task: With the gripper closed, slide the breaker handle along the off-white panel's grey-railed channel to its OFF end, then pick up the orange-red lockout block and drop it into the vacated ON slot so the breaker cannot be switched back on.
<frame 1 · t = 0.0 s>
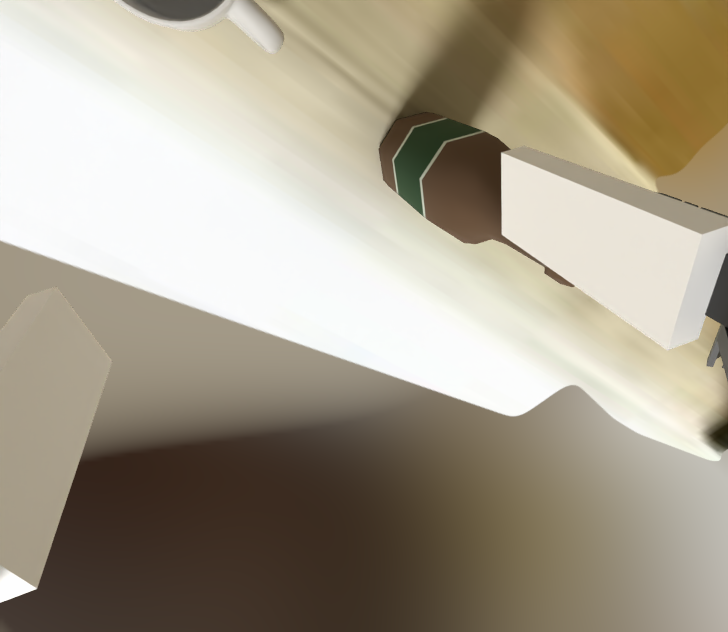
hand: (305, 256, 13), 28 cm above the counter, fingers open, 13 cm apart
beer bottle: (413, 153, 41), on the counter
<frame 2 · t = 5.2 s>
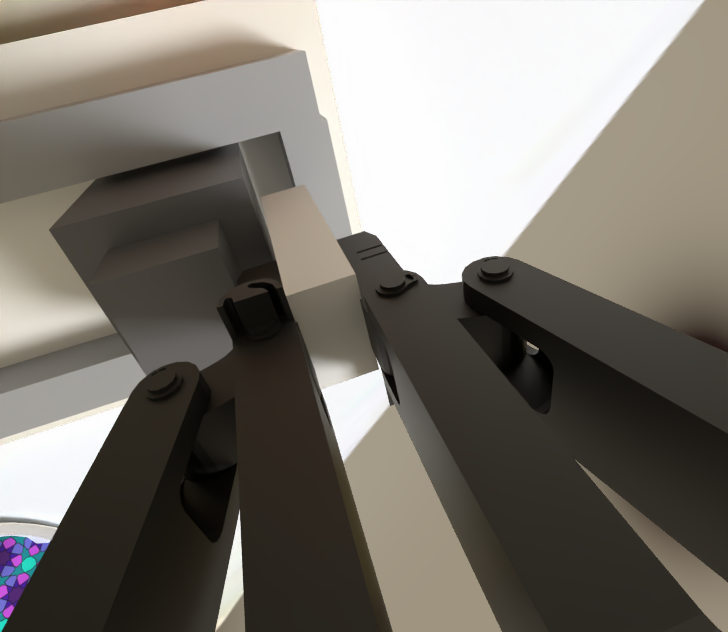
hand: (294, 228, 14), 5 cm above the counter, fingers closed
breaker handle: (197, 273, 14), point 5 cm above the counter, slide at 0.9 cm, touching gripper
pudding: (8, 568, 27), on the counter
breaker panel: (67, 257, 17), on the counter
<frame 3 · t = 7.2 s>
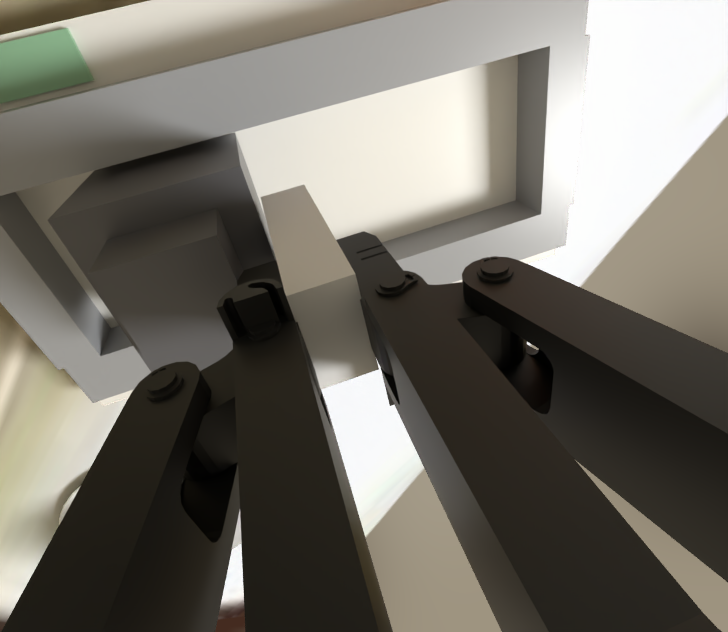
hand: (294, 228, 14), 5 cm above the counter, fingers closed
breaker handle: (196, 263, 14), point 5 cm above the counter, slide at 10.9 cm, touching gripper
pudding: (171, 505, 28), on the counter
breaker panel: (299, 182, 19), on the counter
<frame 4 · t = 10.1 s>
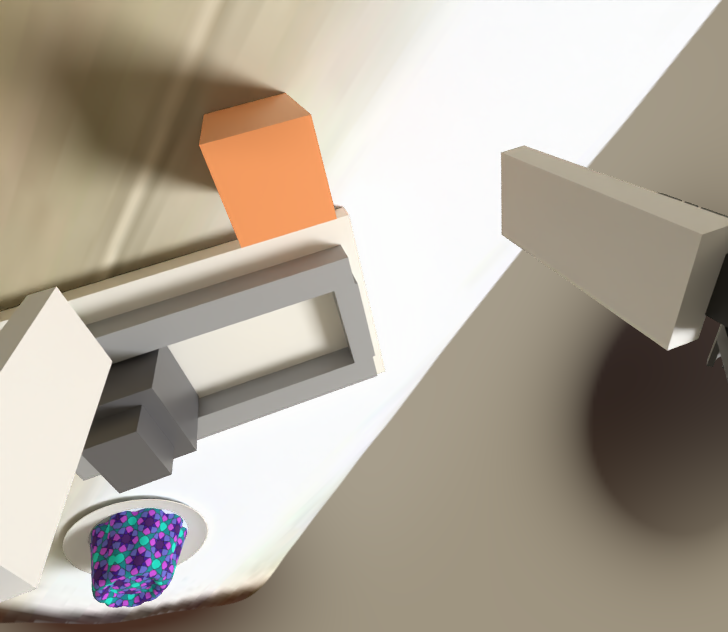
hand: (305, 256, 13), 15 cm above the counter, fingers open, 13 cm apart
breaker handle: (137, 417, 26), point 5 cm above the counter, slide at 10.9 cm
pudding: (140, 531, 40), on the counter
lockout block: (259, 146, 25), on the counter
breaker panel: (208, 345, 31), on the counter
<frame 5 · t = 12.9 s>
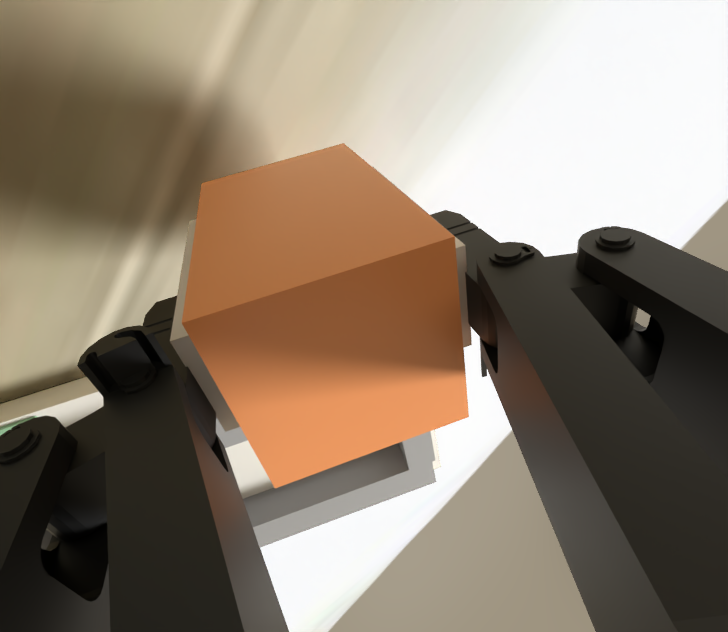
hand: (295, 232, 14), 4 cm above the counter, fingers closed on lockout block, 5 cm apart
breaker handle: (125, 563, 19), point 5 cm above the counter, slide at 10.9 cm
lockout block: (295, 229, 15), point 4 cm above the counter, touching gripper
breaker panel: (221, 444, 24), on the counter
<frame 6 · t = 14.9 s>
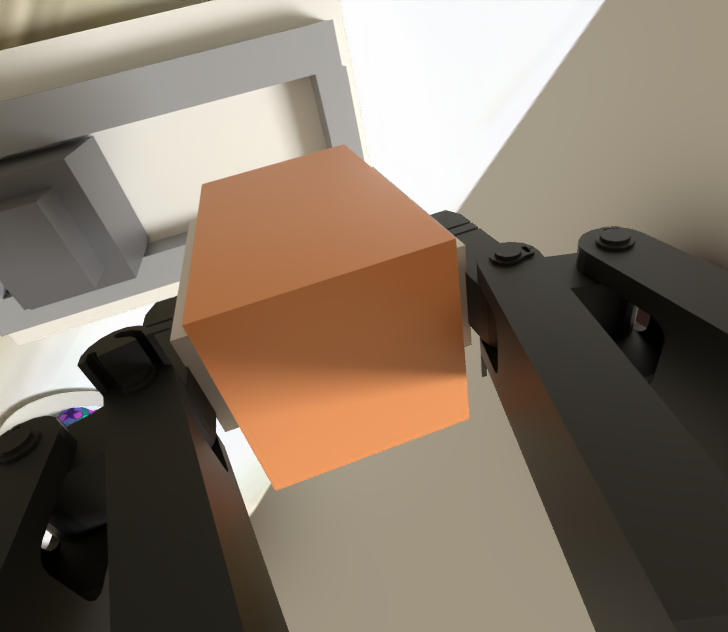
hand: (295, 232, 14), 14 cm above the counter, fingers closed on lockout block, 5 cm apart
breaker handle: (56, 227, 20), point 5 cm above the counter, slide at 10.9 cm
pudding: (94, 440, 34), on the counter
lockout block: (295, 230, 15), point 13 cm above the counter, touching gripper
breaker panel: (161, 173, 25), on the counter
when the fingers open (3 cm above the counter, at t = 16.9 s): lockout block drops 1 cm, resting on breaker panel.
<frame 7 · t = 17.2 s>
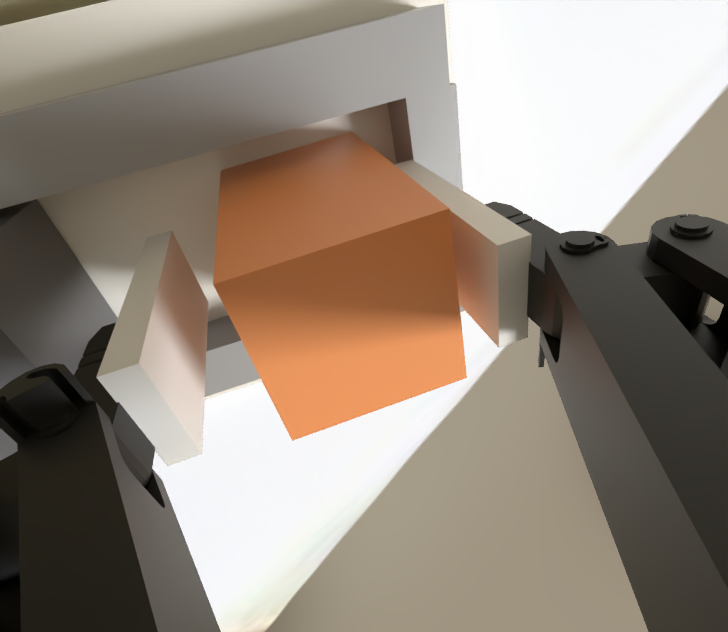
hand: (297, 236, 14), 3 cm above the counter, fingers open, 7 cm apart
lockout block: (306, 213, 16), point 1 cm above the counter, touching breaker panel
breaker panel: (151, 242, 16), on the counter
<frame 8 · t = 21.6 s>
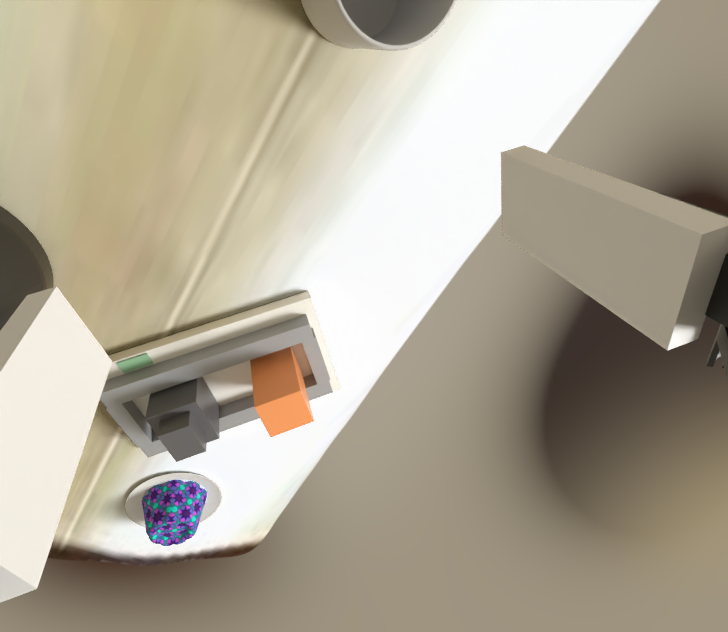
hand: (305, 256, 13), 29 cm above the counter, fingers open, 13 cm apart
breaker handle: (184, 418, 44), point 5 cm above the counter, slide at 10.9 cm
pudding: (175, 496, 58), on the counter
lockout block: (276, 364, 48), point 1 cm above the counter, touching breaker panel
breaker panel: (225, 372, 49), on the counter
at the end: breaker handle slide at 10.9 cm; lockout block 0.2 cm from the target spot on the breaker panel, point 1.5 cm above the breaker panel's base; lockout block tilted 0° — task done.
